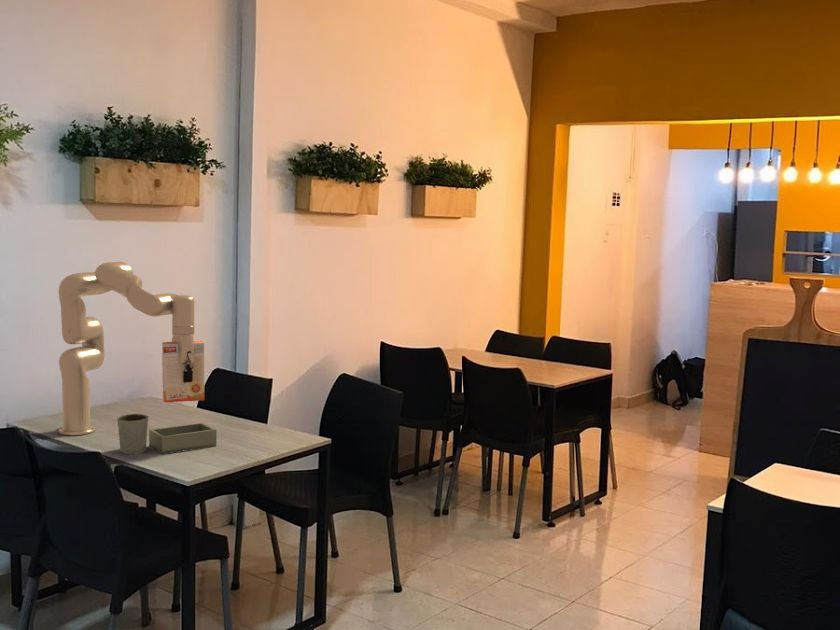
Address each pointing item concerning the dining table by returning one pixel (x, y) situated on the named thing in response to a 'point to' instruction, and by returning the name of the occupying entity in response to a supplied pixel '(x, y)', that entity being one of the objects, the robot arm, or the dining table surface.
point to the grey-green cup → (133, 433)
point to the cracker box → (174, 374)
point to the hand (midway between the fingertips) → (183, 379)
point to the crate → (182, 438)
